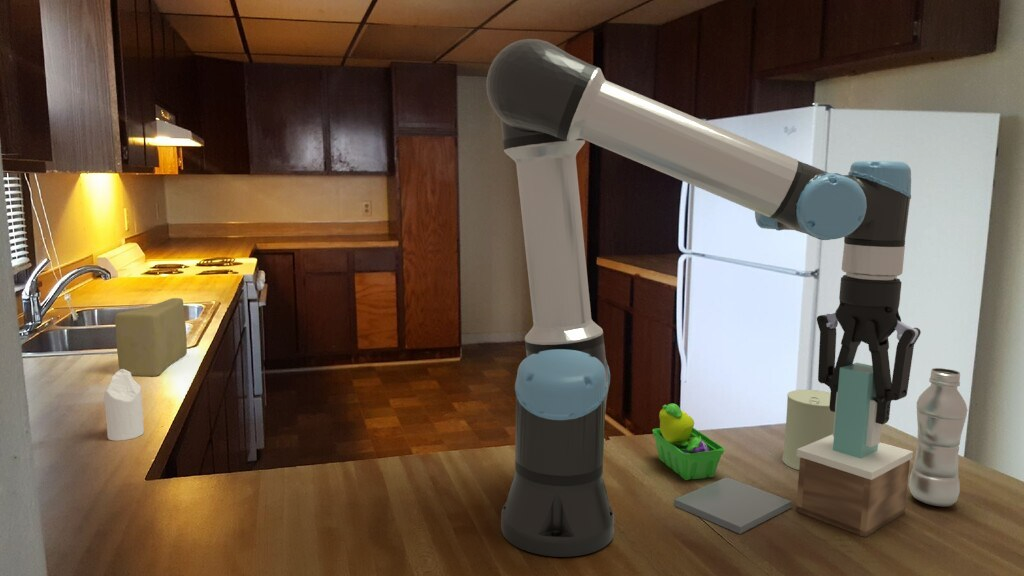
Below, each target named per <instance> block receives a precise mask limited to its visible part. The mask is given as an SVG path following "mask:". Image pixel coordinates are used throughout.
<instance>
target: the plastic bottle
mask: <svg viewBox="0 0 1024 576" xmlns="http://www.w3.org/2000/svg"><path fill="white" fill-rule="evenodd" d="M930 371H931V372H930V377H929V378H928V380H929V381H928V382H929V383H931V384H930V385H929V386H928V387H927V388H926V389H925V390H924V391H923V392H922V393H921V394H920V395H919V397H918V399H917V401H916V419H917V440H916V441H917V442H916V443H917V444H916V446H917V447H916V451H915V456H914V461H913V466H912V469H911V471H910V476H909V477H908V487H909V491H910V494H911V495H912V496H913V498H914V499H915V500H918V502H921V503H924V504H927V505H930V506H934V507H942V508H943V507H944V508H945V507H951V506H953V505H954V504H955V503H957V501H958V498H959V495H960V493H961V490H960V478H959V477H960V476H959V450H960V447H959V446H960V444H961V438H962V433H963V430H964V426H965V422H966V418H967V415H968V407H967V406H968V405H967V403H966V401H965V399H964V397H963V395H962V394H961V393H960V391H959V390H958V387H960V386H961V385H960V384H961V382H960V381H961V380H960V379H961V372H960V371H957V370H955V369H950V368H943V367H935V368H931V370H930Z"/></svg>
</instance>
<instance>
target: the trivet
mask: <svg viewBox="0 0 1024 576" xmlns="http://www.w3.org/2000/svg"><path fill="white" fill-rule="evenodd" d="M792 505H793V501H792V500H790V499H787V498H784V497H782V496H778V495H776V494H774V493H771V492H768V491H765V490H762V489H760V488H758V487H754V486H751V485H749V484H746V483H744V482H740V481H738V480H735V479H733V478H729V477H727V476H726V477H724V478H722V479H719V480H717V481H714V482H712V483H709V484H707V485H705V486H703V487H700V488H698V489H695V490H692V491H690V492H688V493H686V494H683V495H681V496H679V497H676V498H674V499H673V506H674V507H675V508H678V509H681V510H684V511H685V512H687V513H690V514H692V515H695V516H697V517H700V518H702V519H704V520H706V521H708V522H711V523H714V524H716V525H718V526H721V527H723V528H725V529H727V530H730V531H732V532H735V533H737V534H738V535H741V534H743V533H745V532H747V531H749V530H751V529H752V528H753V529H754V528H755V527H757V526H759V525H761V524H763V523H764V522H766V521H768V520H770V519H772V518H774V517H776V516H778V515H780V514H782V513H784V512H786V511H788V510H790V509H792Z"/></svg>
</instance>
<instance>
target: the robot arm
mask: <svg viewBox="0 0 1024 576" xmlns="http://www.w3.org/2000/svg"><path fill="white" fill-rule="evenodd" d="M487 72H488V73H487V77H486V86H485V87H486V93H487V94H486V95H487V98H488V101H489V104H490V107H491V108H492V110H493V111H494V113H495V114H496V115H497V117H498V118H499V119H500V127H501V135H502V141H503V142H502V143H503V152H504V153H505V155H507V156H508V157H510V159H512V161H514V163H515V165H516V174H517V183H518V193H519V200H520V202H519V203H520V210H521V221H522V229H523V230H522V232H523V239H524V247H525V248H524V250H525V257H526V258H525V259H526V267H527V275H528V278H527V279H528V285H529V286H528V287H529V295H530V304H531V312H532V321H533V325H532V327H531V329H530V330H528V333H526V335H525V336H524V343H525V345H524V346H525V352H526V353H525V354H526V357H525V358H524V359H523V360H522V361H521V362H520V364H519V365H518V368H517V371H516V373H517V375H516V378H515V383H514V392H515V397H516V398H515V400H516V401H515V404H516V405H515V446H514V447H515V449H514V450H515V451H514V453H515V454H514V455H515V459H514V461H515V462H514V466H515V467H514V475H513V479H512V481H511V483H510V488H509V491H508V494H507V495H508V496H507V499H506V501H505V503H504V504H503V506H502V510H501V512H500V513H501V514H500V531H501V534H502V536H503V537H504V539H505V540H506V541H507V542H508V543H510V544H511V545H513V546H514V547H516V548H518V549H520V550H522V551H526V552H528V553H531V554H535V555H540V556H547V557H555V558H557V557H558V558H569V557H571V558H572V557H579V556H585V555H589V554H592V553H596V552H597V551H600V550H602V549H604V548H606V547H607V546H608V545H609V544H610V543H611V541H612V540H613V539H614V535H615V515H614V512H613V509H612V507H611V506H610V499H609V495H608V492H607V487H606V484H605V481H604V474H603V473H604V472H603V471H604V450H605V449H604V444H605V424H606V423H605V422H606V420H605V419H606V409H607V400H608V393H609V388H610V383H611V372H610V367H609V365H608V362H607V361H608V360H607V359H606V349H605V348H606V346H605V339H604V338H605V337H604V331H603V328H602V327H601V326H600V325H598V324H597V323H596V322H595V321H593V319H592V312H591V310H592V309H591V301H590V292H589V282H588V281H589V280H588V271H587V270H588V269H587V260H586V259H587V258H586V250H585V241H584V240H585V239H584V238H585V237H584V229H583V228H584V227H583V218H582V209H581V208H582V207H581V201H580V199H581V197H580V188H579V179H578V177H579V176H578V168H577V155H578V153H579V151H580V150H581V149H582V147H583V146H584V145H585V144H586V141H587V142H589V143H592V144H594V145H595V146H598V147H600V148H603V149H605V150H608V151H611V152H613V153H615V154H617V155H620V156H622V157H624V158H627V159H630V160H631V161H634V162H637V163H639V164H642V165H643V166H647V167H649V168H651V169H654V170H655V171H658V172H660V173H663V174H666V175H668V176H670V177H673V178H675V179H677V180H680V181H682V182H684V183H686V184H689V185H691V186H694V187H696V188H698V189H701V190H703V191H705V192H708V193H711V194H713V195H714V196H715V195H716V196H717V197H720V198H722V199H725V200H727V201H729V202H731V203H734V204H737V205H739V206H741V207H744V208H746V209H748V210H751V211H753V212H754V219H755V222H756V224H757V226H758V227H759V228H761V229H766V230H769V229H770V230H776V231H783V230H785V231H796V232H798V233H802V234H806V235H809V236H810V237H812V238H815V239H817V240H821V241H830V240H838V239H841V238H844V240H843V242H844V244H843V252H842V253H843V254H842V262H841V271H842V272H843V273H845V274H844V275H842V277H840V285H839V297H838V298H839V305H838V307H837V309H836V310H835V312H833V313H826V314H820V315H818V316H817V317H816V322H817V325H818V329H819V330H818V331H819V345H818V346H819V349H818V353H819V354H818V370H817V381H818V382H819V383H820V384H824V385H826V386H828V388H829V389H830V393H831V394H830V405H829V408H830V411H832V412H835V415H834V427H833V436H834V430H835V418H836V407H837V395H838V384H839V373H840V368H841V367H844V366H847V365H850V364H854V361H855V357H856V355H857V351H858V348H859V346H860V344H861V343H864V344H867V345H868V351H869V353H870V356H871V357H870V358H871V365H872V366H873V375H874V384H875V393H876V398H874V399H872V400H870V406H869V416H868V427H867V437H866V446H868V447H873V446H875V445H877V444H879V443H880V442H881V439H882V438H881V435H882V425H885V424H888V422H889V420H890V415H891V414H890V411H891V403H892V401H898V400H900V399H903V398H905V397H907V395H908V390H909V389H908V388H909V385H910V384H909V381H910V376H911V369H912V363H913V354H914V347H915V345H916V343H917V341H918V339H919V338H920V335H921V333H922V332H921V330H920V328H918V327H911V326H909V325H907V324H906V323H904V322H902V319H901V316H900V313H899V308H900V302H901V293H902V292H901V290H902V281H901V280H900V278H898V277H899V276H901V275H903V270H904V261H905V249H906V247H905V246H906V236H907V229H908V220H909V219H908V218H909V210H910V201H911V199H912V194H911V193H912V170H911V167H910V165H909V164H908V163H906V162H904V161H890V160H887V161H884V160H883V161H882V160H881V161H877V160H875V161H873V160H872V161H871V160H870V161H867V160H866V161H863V160H860V161H859V160H857V161H854V162H852V164H851V165H850V169H849V172H848V173H847V174H844V175H843V174H841V173H837V172H836V173H835V172H833V173H832V172H828V171H825V170H823V169H820V168H817V167H816V166H813V165H810V164H809V163H806V162H802V161H800V160H798V159H797V158H794V157H791V156H789V155H787V154H784V153H782V152H780V151H778V150H774V149H772V148H770V147H767V146H765V145H763V144H761V143H758V142H755V141H753V140H751V139H748V138H746V137H744V136H741V135H738V134H737V133H734V132H731V131H729V130H726V129H724V128H722V127H719V126H717V125H715V124H712V123H710V122H707V121H705V120H702V119H700V118H698V117H695V116H693V115H691V114H689V113H686V112H684V111H681V110H678V109H676V108H673V107H672V106H668V105H667V104H664V103H662V102H659V101H657V100H655V99H652V98H650V97H648V96H645V95H642V94H640V93H637V92H635V91H632V90H630V89H628V88H625V87H623V86H622V85H621V86H620V85H618V84H616V83H614V82H611V81H609V80H606V78H605V76H604V74H603V71H602V69H601V68H600V67H598V66H596V65H593V64H591V63H588V62H586V61H585V60H582V59H581V58H578V57H576V56H574V55H571V54H570V53H568V52H567V51H565V50H563V49H561V48H560V47H558V46H556V45H554V44H553V43H551V42H549V41H546V40H542V39H538V38H526V39H525V38H524V39H520V40H516V41H514V42H511V43H510V44H508V45H507V46H505V47H504V48H502V50H501V51H499V53H498V54H497V55H496V56H495V57H494V58H493V60H492V62H491V64H490V66H489V69H488V71H487ZM838 324H839V325H840V327H841V329H842V330H843V335H842V339H841V343H840V345H841V346H840V350H839V353H838V357H837V360H836V348H837V347H836V346H837V327H838ZM895 331H896V339H897V340H898V341H897V345H896V348H895V349H896V350H895V357H894V364H893V370H892V376H891V367H890V359H889V348H890V343H889V337H890V336H891V335H892V334H893V333H894V332H895Z"/></svg>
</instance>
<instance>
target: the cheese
mask: <svg viewBox="0 0 1024 576" xmlns="http://www.w3.org/2000/svg"><path fill="white" fill-rule="evenodd" d="M114 316H115V317H114V320H115V321H114V322H115V324H114V325H115V341H116V342H115V343H116V350H117V351H116V352H117V359H118V360H117V363H118V371H119V370H120V369H125V370H127V371H129V372H131V376H132V377H157V376H160V375H161V374H162V373H163V372H164V371H165V370H167V368H168V367H169V366H171V365H172V364H174V363H175V362H178V361H179V360H180V359H182V358H183V357H185V356H186V355H187V353H188V347H187V346H188V343H187V341H188V339H187V325H186V315H185V308H184V300H183V298H179V297H176V298H175V297H174V298H169V299H166V300H163V301H161V302H158V303H155V304H152V305H149V306H146V307H142V308H139V309H132V310H127V311H122V312H118V313H116V314H115V315H114Z"/></svg>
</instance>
